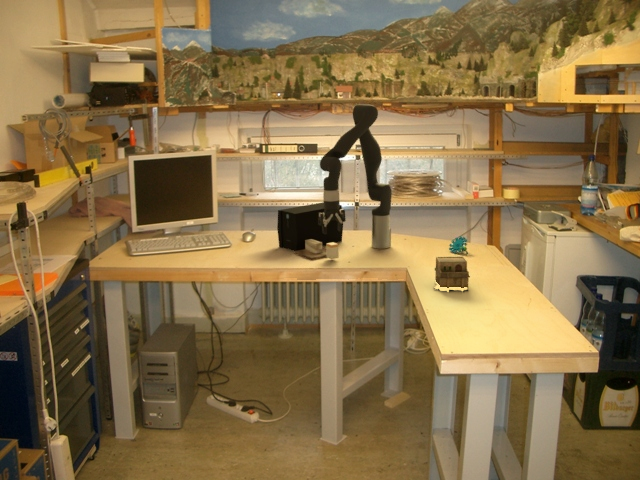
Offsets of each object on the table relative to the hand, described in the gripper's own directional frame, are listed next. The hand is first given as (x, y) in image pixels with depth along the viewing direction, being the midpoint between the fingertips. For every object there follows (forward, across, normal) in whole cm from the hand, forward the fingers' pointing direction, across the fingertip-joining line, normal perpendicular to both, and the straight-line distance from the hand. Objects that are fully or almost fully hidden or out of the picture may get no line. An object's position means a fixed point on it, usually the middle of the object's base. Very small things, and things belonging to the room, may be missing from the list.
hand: (332, 232), depth 292 cm
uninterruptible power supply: (+14, -9, -33) cm, 37 cm away
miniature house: (+14, -15, +63) cm, 66 cm away
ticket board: (+14, 0, -14) cm, 20 cm away
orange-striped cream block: (+12, 0, 0) cm, 12 cm away
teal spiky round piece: (+15, -59, +26) cm, 66 cm away
